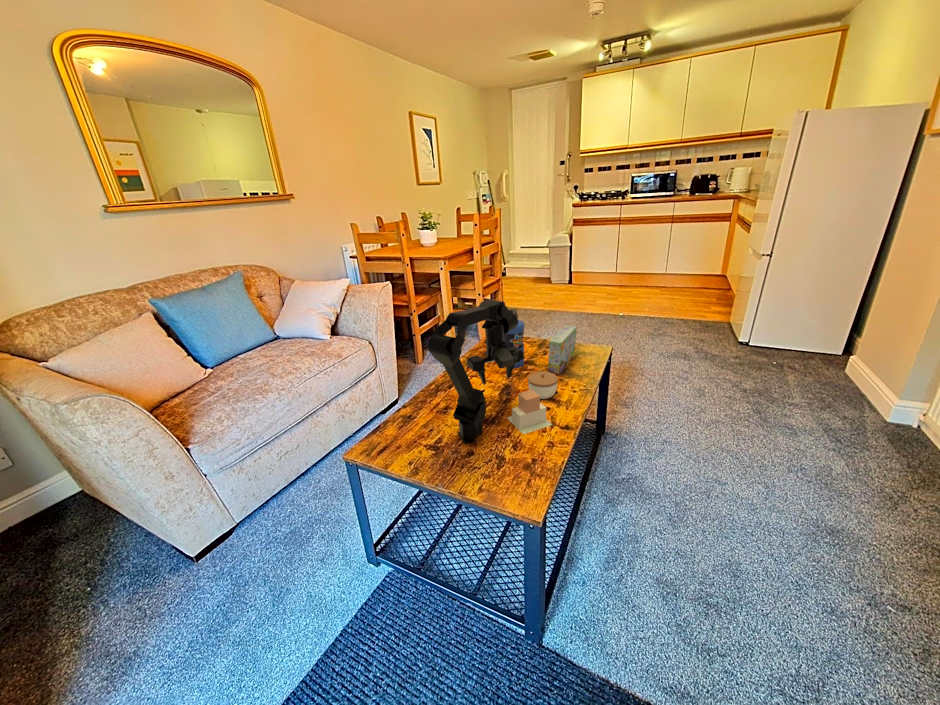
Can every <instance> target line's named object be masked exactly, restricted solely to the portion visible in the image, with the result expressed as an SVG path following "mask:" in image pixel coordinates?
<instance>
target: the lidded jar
mask: <svg viewBox="0 0 940 705" xmlns="http://www.w3.org/2000/svg"><path fill="white" fill-rule="evenodd" d="M558 381H559V378H558V376H556V375H555V374H553V373H550V372H548V371H541V370H540V371H535V372H532V373H531V374H529V375H528V376H527V382H528V390H533V391H534V392H535V393H536V394H538V395H539V396H540V400H547V399H550V398H552V396H554V395H555V393H556V392H557V388H558Z"/></svg>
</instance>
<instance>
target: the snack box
mask: <svg viewBox="0 0 940 705" xmlns="http://www.w3.org/2000/svg"><path fill="white" fill-rule="evenodd" d="M577 329H578V328H577V326H576V325H567V324H565V325H564V326H563V327H562V328H561V329H560V330H559V331H558V332H557V333H556V334H555V335H554V336H553V337H552V338H551V339H550V340H549V343H548V344H549V345H548V361H547V362H548V366H547V372H550V373H553V374H555V375H556V376H557V377H560V376H561V375H562V373H563V372H564V371H565V369H566V368H567V367H568V366H569V364H570V363H571V362H572V361H573V360H574V359H575V353H576V352H575V351H576V339H577Z"/></svg>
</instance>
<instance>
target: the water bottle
mask: <svg viewBox="0 0 940 705" xmlns="http://www.w3.org/2000/svg"><path fill="white" fill-rule="evenodd" d="M510 310H513V314H514V315H515V316H516V317H517V319H518V325H517V327H516V328H514V329H512V330H511V331H509V332H508V333H505V334H504V342H506V347H507V348H510V347H515V346H516V347H517V348H519V349H520V350H522V351H523V352H524V353H525V344H524V333H525V322H524V321H522V320H519V314H518V311H517V310H516V309H515V308H511V309H510ZM524 365H525V358H524V359H522V360H521V361H520V362H518V363H517V364H515V366H514V368H513V369H519V368H522V367H523V366H524Z"/></svg>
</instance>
